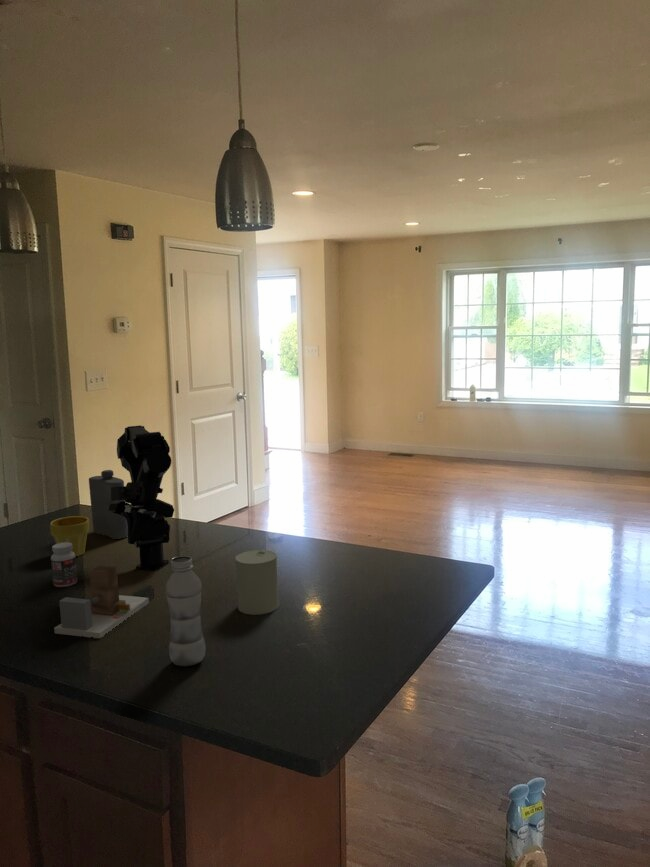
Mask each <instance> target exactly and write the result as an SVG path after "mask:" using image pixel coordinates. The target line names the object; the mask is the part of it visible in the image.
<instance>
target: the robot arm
mask: <svg viewBox="0 0 650 867" xmlns="http://www.w3.org/2000/svg"><path fill="white" fill-rule="evenodd" d="M170 447H171V446H169V443H168V442H167V439H166V438H165V436H164V435H162V433H161V432H160V431H153V432H152V431H151V432H149V431H148V430H147V429H146V428H145V426H144V425H131V426H127V427H124V433H123V434H122V435H120V437H118V439H117V442H116V455H117V459H118V460H119V459H120V464H121V466H122V467H123V469H125V471H127V472H129V476H130V481H128V482H127V483H126V484H125V485H124V486H122V487H111V501H113V500H125V502H124V501H114V502H113V503H111V504H110V507H109V510H108V511H109V512H111V513H114V514H116V515H119V516H122V517H124V518H126V520H127V527H128V537H127V543H128V544H130V545H134V547H135V548H136V549H137V548H138V549H139V564H137V565H136V566H135V569H140V570H154V571H158V570H159V569H161V568H163V567H164V566H165V565H167V564H169V562H170V560H169V559H165V558H164V556H165V555H164V544H166V543H169V541H170V532H171V531H170V529H171V525H170V524H169V523H168V520H167V518H168V519H169V518H173V517H174V512H175V508H174V505H173V504H171V503H168V502H166V501H165V500H162V499H159V498H158V495H159V494H163V490H164V488H162V487H161V484H162V481H163V477H164V475H165V474H166V473H167V471H169V469H170V468H171V466H172V457H171V456H170V452H171V448H170Z"/></svg>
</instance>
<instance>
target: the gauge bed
mask: <svg viewBox="0 0 650 867" xmlns="http://www.w3.org/2000/svg"><path fill="white" fill-rule="evenodd" d="M90 600H91V599H88V598H79V597H78V598H77V597H66V596H65V597H63V598H62V599H60V600H59V611H60V612H59V613H60V614H59V615H60V622H61V623H60V624H58V625H57V626H54V628H53V629H54V634H57V635H65V636H66V635H67V636H73V637H75V636H76V637H82V636H83V637H85V638H91V637H93V639H100V638H101V637H102V638H104V637H105V636H106V635H107V634H109V633H110V632H111V631H113V630H114V629H115V627H116V626H117V627H118V626H120V625H121V624H123V623H124V622H125V621H126V620H128V619H129V618H130V617H132V616H133V615H135V614H136V613H138V612H139V611H140V610H142V609H143V608H144V607H145V606H147V605H148V604H149V603H150V598H149V597H144V596H143V597H141V596H133V595H120V594H119V600H125V603H126V604H130V610H129V611H125V610H119V611H117V612H116V613H114V614H113V615H110V614H100V613H91V603H90ZM134 613H135V614H134ZM131 615H132V616H131ZM128 617H129V618H128ZM127 618H128V619H127ZM124 620H125V621H124ZM123 621H124V622H123ZM120 623H121V624H120ZM119 624H120V625H119ZM113 628H114V629H113ZM112 629H113V630H112ZM109 631H110V632H109ZM108 632H109V633H108ZM106 633H107V634H106ZM105 634H106V635H105ZM104 635H105V636H104ZM102 638H101V639H102Z"/></svg>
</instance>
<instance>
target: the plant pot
mask: <svg viewBox="0 0 650 867" xmlns="http://www.w3.org/2000/svg"><path fill="white" fill-rule="evenodd" d="M49 530H50V535H51V536H52V537H53V539H54V542H55V544H59V543H64V542H69V543H72V546H73V549H72V552H74V553H75V557H76V556H78V557H80V556H79V555H81V556H82V554H83V553H84V554H85V553H86V552H85V550H86V544H87V537H88V532H89V533H90V518H89V517H86V516H81V515H80V516H79V515H78V516H77V515H73V516H65V517H59V518H57V519H56V518H55V519H54V520H52V521H51V522H50V524H49ZM84 554H83V555H84ZM76 558H77V557H76Z"/></svg>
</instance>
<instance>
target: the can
mask: <svg viewBox="0 0 650 867" xmlns="http://www.w3.org/2000/svg"><path fill="white" fill-rule="evenodd" d="M277 557H278V556H277V554H276V552H273V551H271V550H266V549H258V550H257V549H255V550H247V551H244V552H241V553H239V554H237V555H236V556H235V558H234V559H235V569H236V570H235V571H236V572H235V573H236V586H237V588H236V589H237V609H238V611H239V612H240V613H242V614H245V615H250V616H251V615H253V616H255V615H257V616H258V615H265V614H269V613H272V612H274V611H276V610H278V609H279V607H280V600H279V589H278V588H279V585H278V584H279V583H278V567H277V564H278V563H277V561H278V560H277V559H278V558H277Z"/></svg>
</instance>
